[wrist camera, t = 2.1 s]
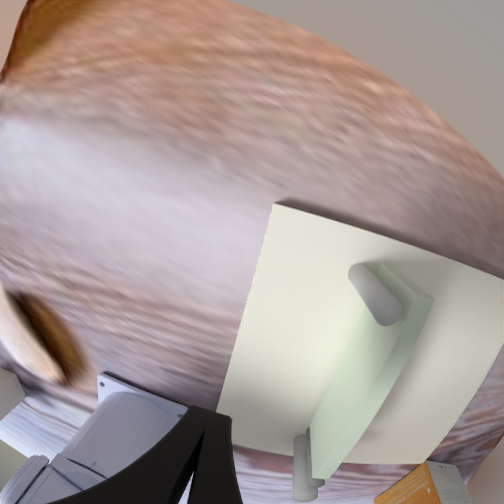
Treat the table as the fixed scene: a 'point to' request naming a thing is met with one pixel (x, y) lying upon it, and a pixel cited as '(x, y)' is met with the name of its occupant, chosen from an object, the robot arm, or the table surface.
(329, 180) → the table surface
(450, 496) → the small box
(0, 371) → the model
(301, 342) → the gate frame
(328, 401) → the gate
